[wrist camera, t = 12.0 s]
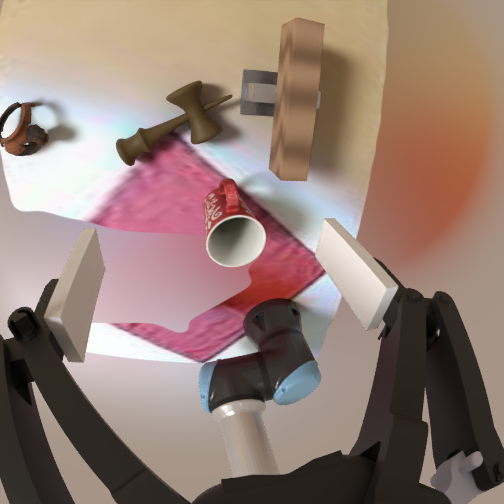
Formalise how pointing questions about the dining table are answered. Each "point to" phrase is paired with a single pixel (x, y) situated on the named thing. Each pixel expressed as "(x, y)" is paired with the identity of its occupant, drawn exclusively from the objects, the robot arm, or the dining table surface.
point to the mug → (231, 227)
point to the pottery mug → (22, 132)
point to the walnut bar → (296, 98)
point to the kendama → (174, 124)
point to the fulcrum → (260, 93)
